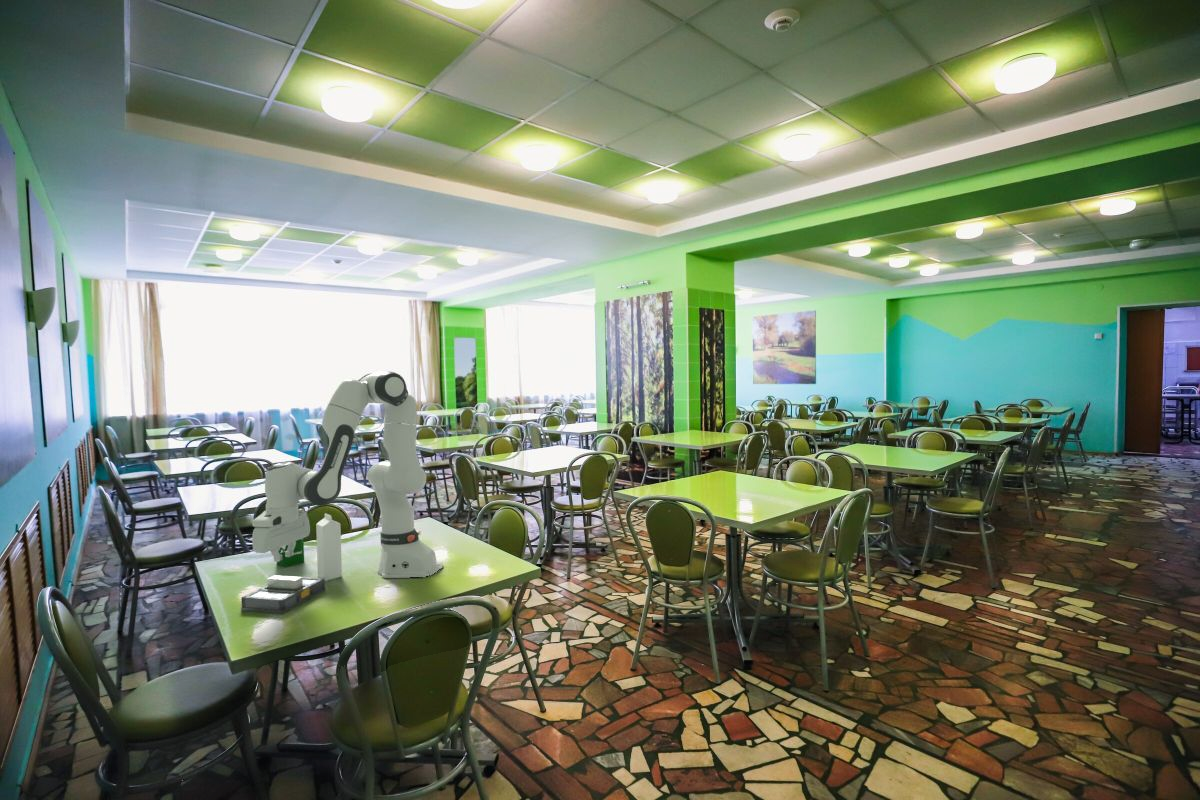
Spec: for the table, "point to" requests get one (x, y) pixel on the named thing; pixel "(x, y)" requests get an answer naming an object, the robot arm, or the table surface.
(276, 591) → the tray
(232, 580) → the table surface
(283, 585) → the white rectangular block
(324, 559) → the milk
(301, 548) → the milk carton
